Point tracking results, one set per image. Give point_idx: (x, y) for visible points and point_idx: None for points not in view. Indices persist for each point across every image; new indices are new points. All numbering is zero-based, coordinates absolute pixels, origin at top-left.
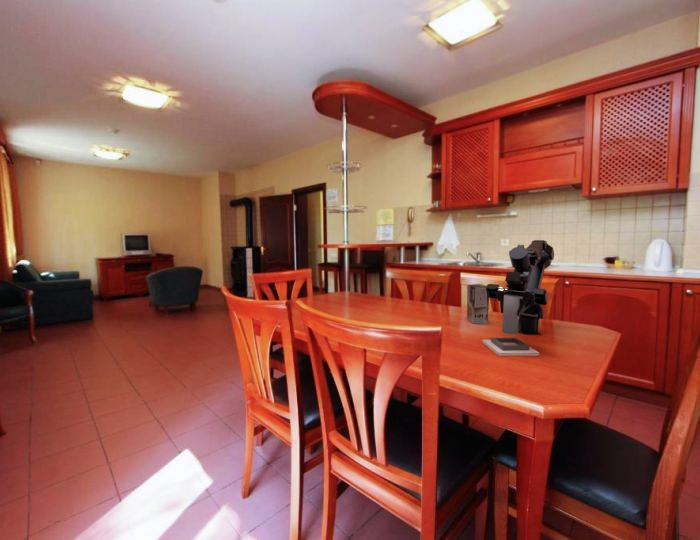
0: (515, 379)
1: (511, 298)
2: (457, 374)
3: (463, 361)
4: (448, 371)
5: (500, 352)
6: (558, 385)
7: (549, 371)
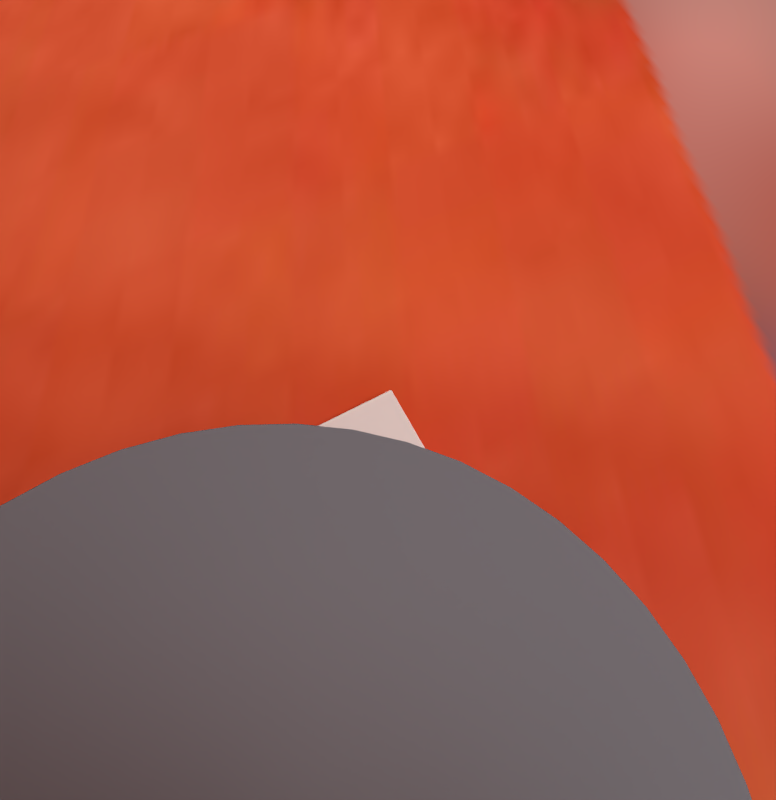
0: (274, 55)
1: (295, 434)
2: (568, 17)
3: (594, 191)
4: (620, 34)
5: (381, 404)
6: (40, 60)
7: (40, 240)
